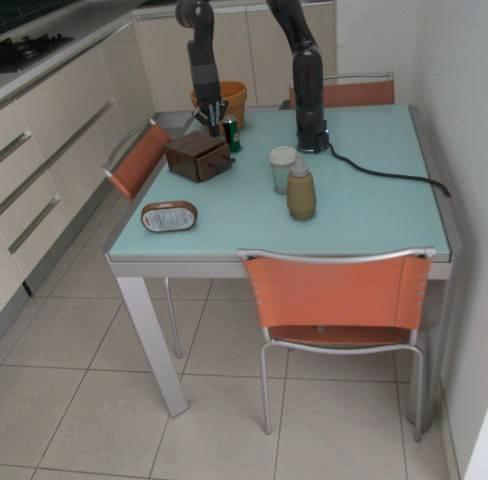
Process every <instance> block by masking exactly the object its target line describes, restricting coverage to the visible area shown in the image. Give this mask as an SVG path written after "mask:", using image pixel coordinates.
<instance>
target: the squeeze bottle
mask: <svg viewBox="0 0 488 480" xmlns="http://www.w3.org/2000/svg"><path fill="white" fill-rule="evenodd" d="M309 170H310V168H309V165H308V164H306V163H304V160H303V156H302V153H300V152H297V154H296V159H295V164H294V165H292V166H291V168H290V171H291V173H290V174H289V175H288V178H287V193H286V207H287V209H288V210H289V213H290V215H291V216H292V218H293V219H295V220H298V221H304V220H308V219H310V218H312V217H313V215H314V213H315V210H316V207H317V202H318V201H317V195H316V188H315V182H314V176H313V174H312V173H311V172H310V171H309Z"/></svg>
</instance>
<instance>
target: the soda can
mask: <svg viewBox="0 0 488 480" xmlns="http://www.w3.org/2000/svg"><path fill="white" fill-rule="evenodd" d="M222 125H223V131H224V134H223V137H224V140H225V143H226V144H228V145H229V150H230V153H237V152H239V151H241V149H242V146H241V139H240V133H239V132H240V131H239V130H238V124H237V119H236V118H235V116H234V115H226V116H224V118H223V120H222Z"/></svg>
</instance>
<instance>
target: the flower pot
mask: <svg viewBox="0 0 488 480" xmlns="http://www.w3.org/2000/svg"><path fill="white" fill-rule="evenodd" d="M219 81H220V88H221V94H220V95H221V96H222V99H224V100H227V101H229V104H228V107H227V109H226V112H225V115H224V116H226V115H234V116H235V118H236V119H237V124H238V131H239V130H241V129H242V127H243V126H244V119H245V108H246V101H247V100H248V88H247V85H246V83H245V82H243V81H238V80H219ZM189 97H190V101H191V103H192V107H193V108H194V109H196V108H197V106H196V104H197V99H196V97H195V94H194V89H192V90H191V91H190V93H189ZM201 113H202V112H201ZM202 114H203V113H202ZM220 114H221V113H220ZM202 116H203V117H204V115H202ZM204 118H205V117H204ZM218 125H219V131H220V133H219V135H224V131H223V125H222V120H220V121H219V124H218ZM203 126H204V128H205V130H206V132H208V133H209V128H208V126H205V125H203Z"/></svg>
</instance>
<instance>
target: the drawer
mask: <svg viewBox="0 0 488 480" xmlns="http://www.w3.org/2000/svg"><path fill="white" fill-rule="evenodd" d="M195 162H196V166H197V171H198V176H199V177H200V179H201V181H200V182H205V181H206V180H208V179H210V178H212V177H214V176H216V175H217V174H219V173H221V172H223V171H226V169H228V168H230V167H232V166H233V164H234V163H235V162H236V158H235V157H231V152H230V150H229V145H228V144H225V145H223V146H222V144H221V145H219V146H217V147H215V148H213V149H211V150H209V151H207V152H205V153H203V154H201V155H199V156H197V157H195Z"/></svg>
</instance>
